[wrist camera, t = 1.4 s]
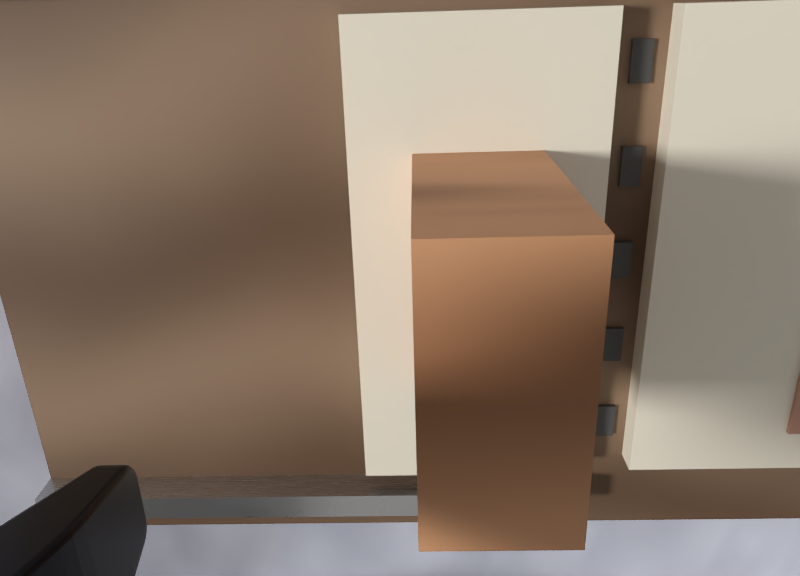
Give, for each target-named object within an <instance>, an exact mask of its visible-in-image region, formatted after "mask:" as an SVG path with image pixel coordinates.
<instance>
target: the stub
mask: <svg viewBox="0 0 800 576" xmlns="http://www.w3.org/2000/svg"><path fill="white" fill-rule="evenodd" d="M623 7H624V5H596V6H565V7H534V8H502V9H471V10H440V11H409V12H377V13H346V14H338V22H339V38H340V55H341V71H342V88H343V104H344V121H345V137H346V154H347V171H348V187H349V204H350V220H351V237H352V253H353V270H354V286H355V303H356V319H357V336H358V353H359V369H360V386H361V402H362V419H363V435H364V452H365V468H366V476H397V475H417V501H418V541H419V551H524V550H585V541H586V530H587V520H588V510H589V499H590V489H591V478H592V468H593V457H594V447H595V436H596V426H597V415H598V405H599V394H600V384H601V373H602V363H603V352H604V342H605V331H606V321H607V310H608V300H609V289H610V279H611V268H612V258H613V247H614V237H615V234H614V233H613V232H612V231H611V230H610V228H609V227H608V226H607V225H606V224H605V210H606V199H607V188H608V177H609V165H610V154H611V143H612V131H613V120H614V109H615V98H616V86H617V75H618V64H619V53H620V41H621V30H622V19H623Z"/></svg>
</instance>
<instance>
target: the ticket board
mask: <svg viewBox="0 0 800 576" xmlns="http://www.w3.org/2000/svg"><path fill="white" fill-rule="evenodd" d="M596 5H624V7H623V19H622V30H621V41H620V53H619V64H618V75H617V86H616V98H615V109H614V120H613V131H612V143H611V154H610V165H609V177H608V188H607V199H606V210H605V224H606V225H607V226H608V227H609V228H610V230H611V231H612V232H613V233H614V234H615V237H614V247H613V258H612V268H611V279H610V289H609V300H608V310H607V321H606V331H605V342H604V352H603V363H602V373H601V384H600V394H599V405H598V415H597V426H596V436H595V447H594V457H593V468H592V478H591V489H590V499H589V510H588V520H664V519H762V518H800V0H0V295H1V299H2V303H3V306H4V310H5V313H6V317H7V321H8V324H9V328H10V331H11V335H12V339H13V342H14V346H15V349H16V353H17V357H18V360H19V364H20V367H21V371H22V375H23V378H24V382H25V385H26V389H27V393H28V396H29V400H30V403H31V407H32V410H33V414H34V418H35V421H36V425H37V428H38V432H39V436H40V439H41V443H42V446H43V450H44V454H45V457H46V461H47V464H48V468H49V472H50V475H51V479H50V481H49V482H48V483H47V485H46V486H45V487H44V489H43V490H42V491H41V493H40V494H39V495H38V497H37V498H36V499H35V501H36V503H38V502H39V501H41V500H42V499H44V498H45V497H47V496H49V495H50V494H52V493H53V492H55V491H57V490H58V489H60V488H61V487H63V486H64V485H66V484H68V483H69V482H71V481H72V480H74V479H75V478H77V477H79V476H80V475H82V474H83V473H85V472H87V471H88V470H90V469H91V468H93V467H95V466H98V465H129V466H130V467H132V468H133V469H134V471H135V472H136V475H137V479H138V483H139V488H140V492H141V497H142V502H143V506H144V511H145V516H146V521H147V525H178V524H275V523H372V522H418V501H417V475H397V476H366V468H365V452H364V435H363V419H362V402H361V386H360V369H359V353H358V336H357V319H356V303H355V286H354V270H353V253H352V237H351V220H350V204H349V187H348V171H347V154H346V137H345V121H344V104H343V88H342V71H341V55H340V38H339V22H338V14H346V13H377V12H409V11H440V10H471V9H502V8H534V7H565V6H596Z"/></svg>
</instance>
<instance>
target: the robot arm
mask: <svg viewBox="0 0 800 576" xmlns="http://www.w3.org/2000/svg"><path fill="white" fill-rule="evenodd" d="M146 532H147V521H146V516H145V511H144V506H143V502H142V497H141V492H140V488H139V483H138V479H137V475H136V472H135V471H134V469H133V468H132V467H130V466H129V465H98V466H95V467H93V468H91V469H90V470H88V471H87V472H85V473H83V474H82V475H80V476H79V477H77V478H75V479H74V480H72V481H71V482H69V483H68V484H66V485H64V486H63V487H61V488H60V489H58V490H57V491H55V492H53V493H52V494H50V495H49V496H47V497H45V498H44V499H42V500H41V501H39V502H38V503H36V504H34V505H33V506H31V507H30V508H28V509H26V510H25V511H23V512H22V513H20V514H19V515H17V516H15V517H14V518H12V519H11V520H9V521H7V522H6V523H4V524H3V525H1V526H0V576H135V574H136V570H137V567H138V563H139V560H140V557H141V553H142V550H143V546H144V543H145V539H146Z"/></svg>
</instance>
